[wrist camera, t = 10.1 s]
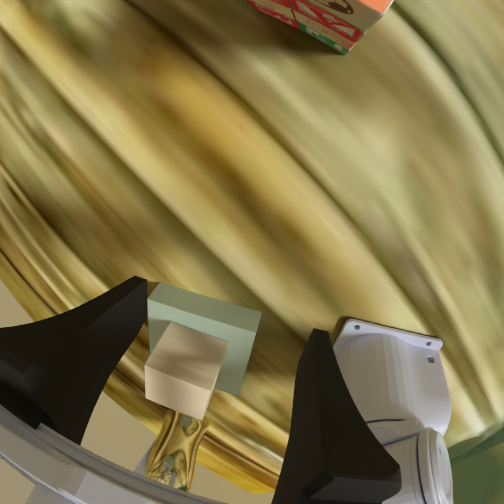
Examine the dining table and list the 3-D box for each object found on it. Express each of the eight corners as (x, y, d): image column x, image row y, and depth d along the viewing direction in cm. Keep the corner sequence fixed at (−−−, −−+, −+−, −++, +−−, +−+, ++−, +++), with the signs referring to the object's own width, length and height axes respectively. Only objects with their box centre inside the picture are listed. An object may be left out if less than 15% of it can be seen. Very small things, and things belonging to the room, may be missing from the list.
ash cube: (229, 342, 25) (210, 390, 21) (219, 376, 28) (202, 420, 23) (171, 320, 25) (144, 365, 21) (168, 357, 28) (145, 398, 24)
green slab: (263, 308, 26) (255, 332, 24) (245, 372, 31) (238, 395, 28) (162, 278, 27) (147, 298, 25) (162, 346, 32) (151, 366, 29)
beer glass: (157, 414, 39) (116, 502, 26) (171, 396, 36) (124, 499, 23) (201, 436, 40) (168, 525, 27) (221, 421, 36) (186, 524, 23)
